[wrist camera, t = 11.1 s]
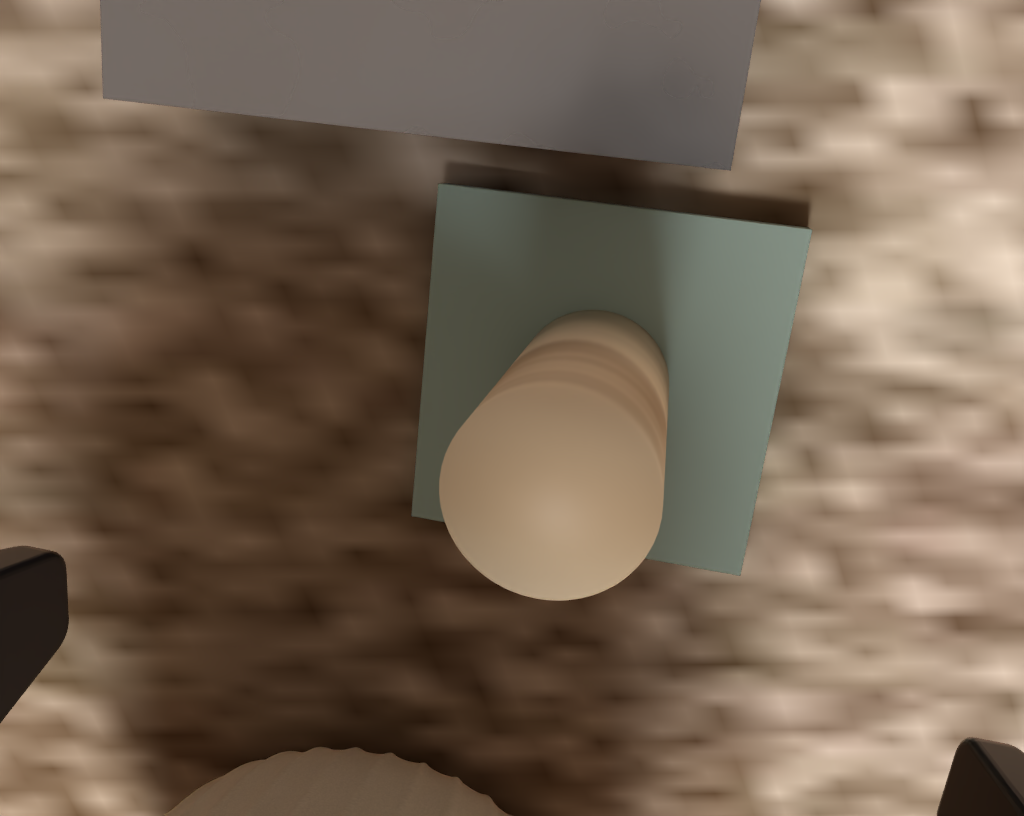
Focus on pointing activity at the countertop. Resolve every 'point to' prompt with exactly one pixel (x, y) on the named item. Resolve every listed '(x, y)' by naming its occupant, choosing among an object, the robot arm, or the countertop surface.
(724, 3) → the block
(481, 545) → the dowel
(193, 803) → the canister
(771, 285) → the coaster
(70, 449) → the countertop surface
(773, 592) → the countertop surface
